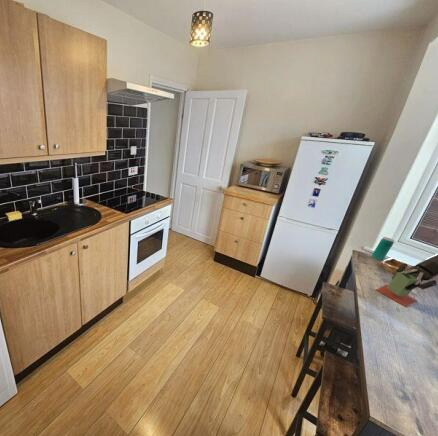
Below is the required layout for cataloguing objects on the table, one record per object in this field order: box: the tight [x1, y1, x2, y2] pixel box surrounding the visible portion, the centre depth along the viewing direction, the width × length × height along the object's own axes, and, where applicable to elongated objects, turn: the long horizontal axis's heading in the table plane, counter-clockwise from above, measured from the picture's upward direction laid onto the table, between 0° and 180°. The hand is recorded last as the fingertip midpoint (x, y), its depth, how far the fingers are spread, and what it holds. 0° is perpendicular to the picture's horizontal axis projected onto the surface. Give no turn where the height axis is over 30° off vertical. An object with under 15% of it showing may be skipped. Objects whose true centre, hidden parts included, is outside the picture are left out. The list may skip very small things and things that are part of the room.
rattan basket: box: [378, 257, 413, 275], centre depth 138 cm, size 14×14×4 cm
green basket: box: [387, 272, 417, 296], centre depth 114 cm, size 6×6×10 cm
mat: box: [375, 284, 418, 308], centre depth 118 cm, size 12×12×1 cm
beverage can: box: [371, 236, 395, 262], centre depth 146 cm, size 6×6×15 cm
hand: (399, 284), depth 114 cm, fingers closed on green basket, 5 cm apart
